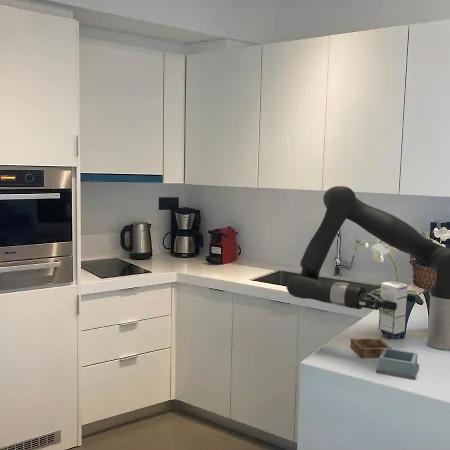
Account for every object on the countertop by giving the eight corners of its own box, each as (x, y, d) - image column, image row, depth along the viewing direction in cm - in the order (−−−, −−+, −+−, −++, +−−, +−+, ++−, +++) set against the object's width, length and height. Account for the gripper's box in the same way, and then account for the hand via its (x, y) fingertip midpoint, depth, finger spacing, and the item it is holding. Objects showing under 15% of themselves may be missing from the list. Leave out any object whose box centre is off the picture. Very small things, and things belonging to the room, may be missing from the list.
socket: (381, 360, 172) (382, 346, 171) (419, 367, 167) (420, 352, 166) (375, 372, 162) (376, 358, 161) (415, 379, 157) (416, 364, 157)
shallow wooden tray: (379, 347, 184) (380, 338, 184) (391, 357, 174) (392, 348, 174) (350, 347, 183) (350, 338, 183) (360, 358, 173) (360, 349, 173)
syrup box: (405, 331, 165) (408, 283, 164) (393, 334, 162) (396, 286, 160) (389, 326, 170) (392, 280, 168) (377, 329, 166) (380, 282, 164)
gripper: (339, 287, 166) (393, 296, 157) (357, 279, 178) (408, 287, 169) (338, 311, 167) (392, 321, 158) (355, 302, 179) (407, 311, 170)
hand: (400, 304), depth 163 cm, fingers closed on syrup box, 7 cm apart
